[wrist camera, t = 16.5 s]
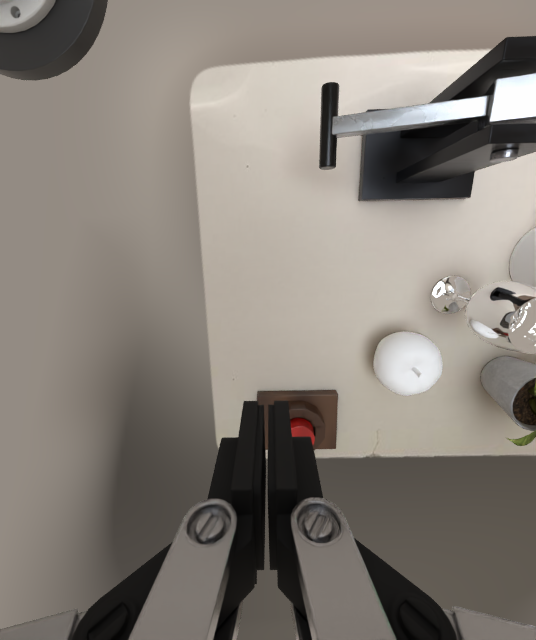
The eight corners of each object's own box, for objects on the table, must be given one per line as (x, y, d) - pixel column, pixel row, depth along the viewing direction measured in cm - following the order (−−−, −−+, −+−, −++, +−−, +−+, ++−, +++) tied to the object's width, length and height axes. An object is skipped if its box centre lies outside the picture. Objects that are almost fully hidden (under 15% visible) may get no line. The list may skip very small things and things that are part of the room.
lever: (322, 171, 23) (316, 165, 21) (324, 94, 22) (318, 79, 20) (522, 155, 19) (541, 145, 17) (541, 58, 18) (564, 34, 16)
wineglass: (415, 307, 35) (485, 343, 23) (442, 261, 33) (532, 275, 22) (457, 326, 35) (546, 371, 24) (486, 282, 34) (596, 307, 22)
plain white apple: (404, 311, 35) (441, 333, 27) (433, 357, 36) (475, 389, 29) (353, 343, 36) (374, 372, 28) (382, 386, 38) (410, 425, 30)
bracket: (358, 200, 32) (426, 173, 17) (364, 114, 29) (447, 2, 15) (463, 198, 31) (619, 169, 17) (477, 111, 29) (669, -6, 15)
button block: (260, 443, 40) (259, 459, 38) (257, 391, 38) (256, 404, 35) (334, 442, 40) (338, 459, 37) (336, 389, 38) (340, 402, 35)
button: (284, 442, 37) (284, 452, 36) (283, 417, 36) (283, 426, 35) (312, 442, 37) (314, 452, 35) (313, 417, 36) (315, 426, 34)
